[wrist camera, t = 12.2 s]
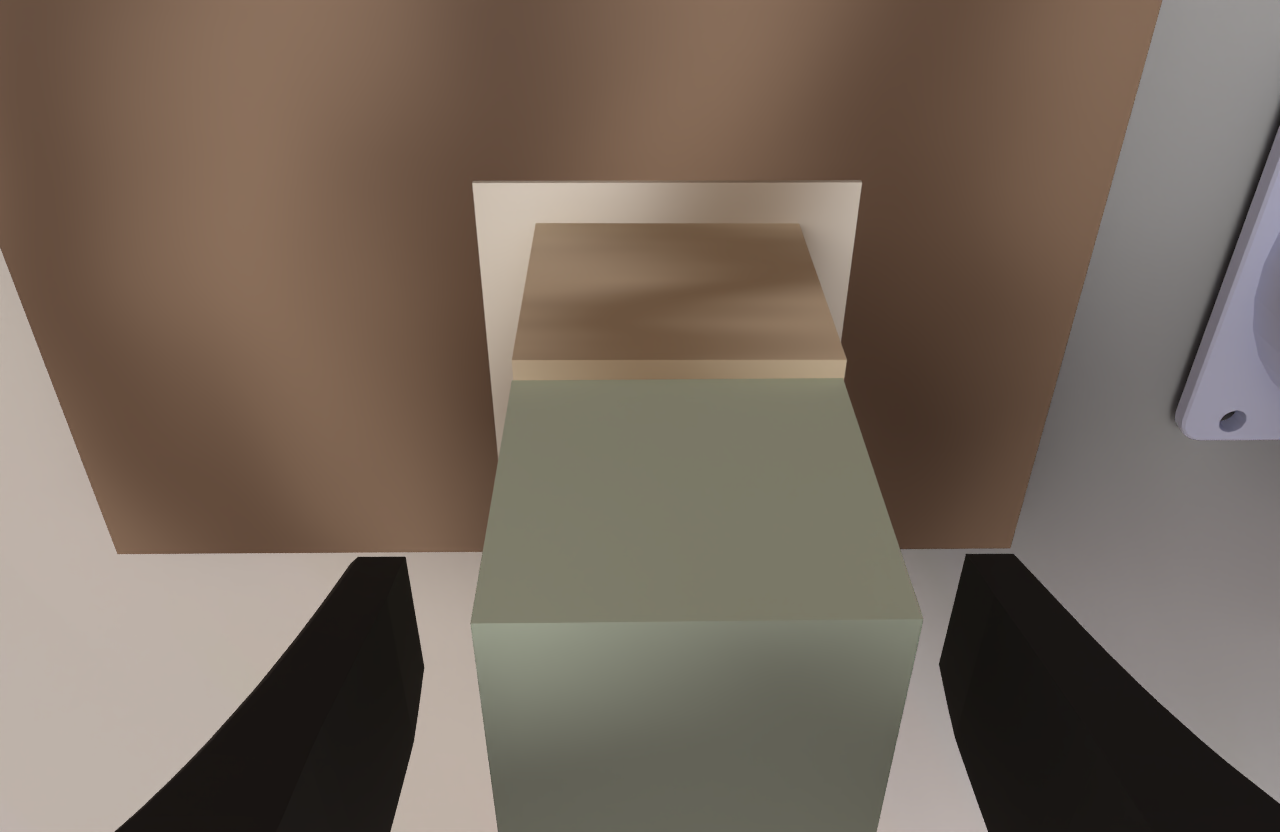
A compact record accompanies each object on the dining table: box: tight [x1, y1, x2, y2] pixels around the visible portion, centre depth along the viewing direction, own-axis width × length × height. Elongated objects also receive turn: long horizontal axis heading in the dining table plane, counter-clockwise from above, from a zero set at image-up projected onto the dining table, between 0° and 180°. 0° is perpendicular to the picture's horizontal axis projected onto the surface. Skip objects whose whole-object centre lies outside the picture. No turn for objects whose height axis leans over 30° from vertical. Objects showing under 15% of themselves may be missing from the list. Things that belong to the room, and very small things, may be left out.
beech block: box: [512, 223, 847, 380], centre depth 17 cm, size 4×4×4 cm
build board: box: [0, 0, 1162, 554], centre depth 16 cm, size 19×20×1 cm
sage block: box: [470, 378, 923, 832], centre depth 13 cm, size 4×4×4 cm
